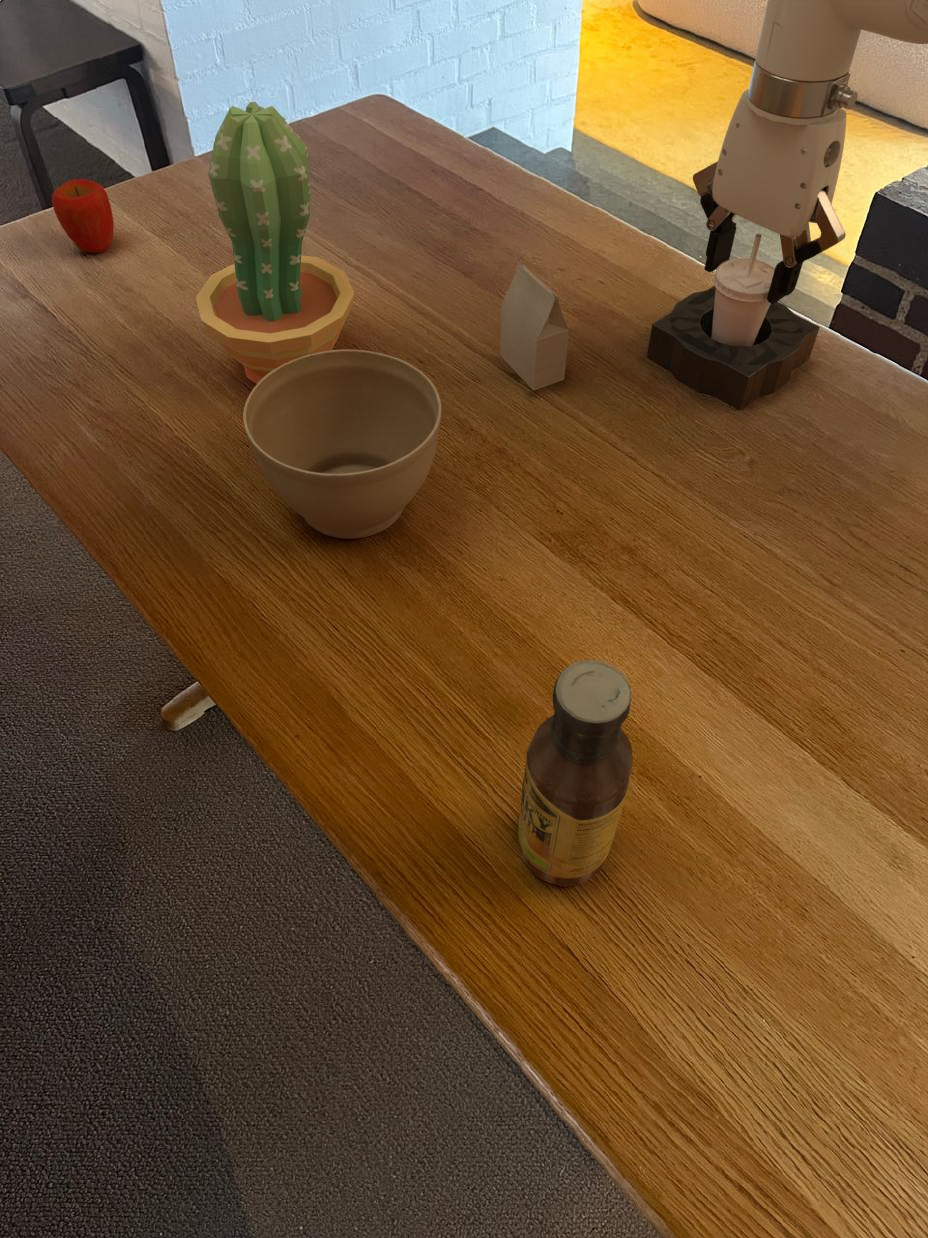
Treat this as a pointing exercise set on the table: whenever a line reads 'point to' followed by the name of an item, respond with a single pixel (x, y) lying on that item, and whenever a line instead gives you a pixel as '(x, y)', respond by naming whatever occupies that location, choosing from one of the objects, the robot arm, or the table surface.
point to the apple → (85, 214)
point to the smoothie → (741, 298)
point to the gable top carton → (533, 331)
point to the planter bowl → (344, 437)
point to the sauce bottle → (576, 775)
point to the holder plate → (730, 350)
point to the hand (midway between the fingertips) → (747, 280)
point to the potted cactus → (268, 249)
